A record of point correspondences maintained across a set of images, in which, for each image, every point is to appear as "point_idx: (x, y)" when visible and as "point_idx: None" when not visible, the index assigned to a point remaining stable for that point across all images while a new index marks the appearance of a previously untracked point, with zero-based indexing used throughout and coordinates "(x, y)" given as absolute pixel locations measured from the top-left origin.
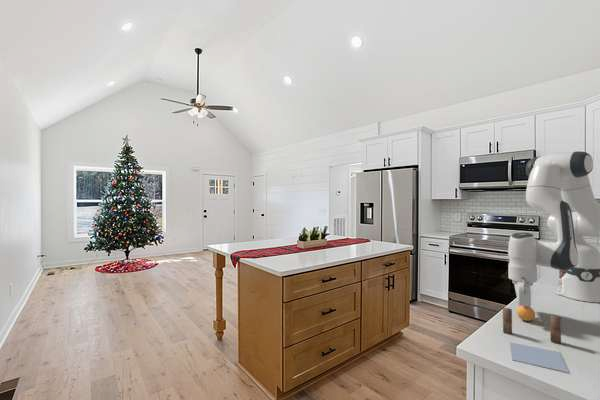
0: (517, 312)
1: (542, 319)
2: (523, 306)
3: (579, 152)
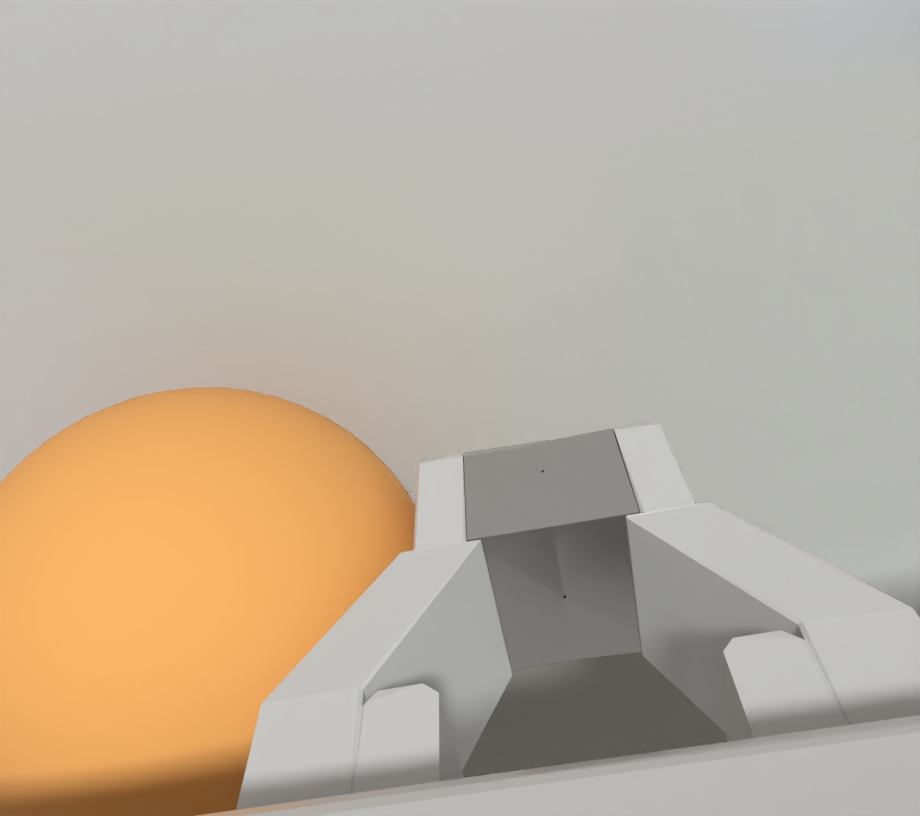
0: (23, 463)
1: (604, 687)
2: (34, 790)
3: None
